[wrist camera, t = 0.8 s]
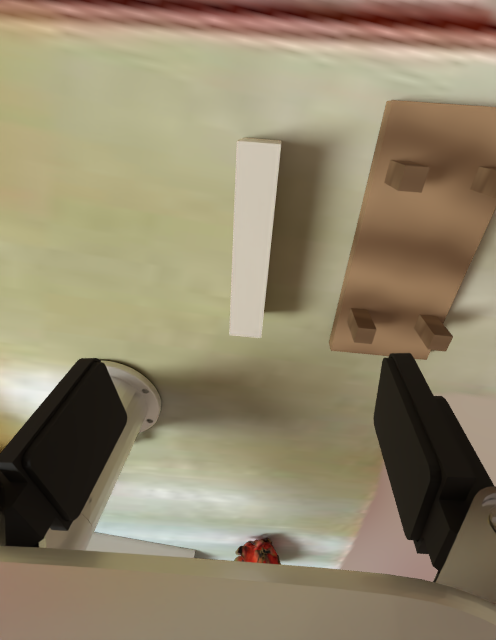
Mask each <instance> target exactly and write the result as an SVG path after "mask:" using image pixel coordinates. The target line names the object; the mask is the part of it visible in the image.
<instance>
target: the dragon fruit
mask: <svg viewBox="0 0 496 640" xmlns="http://www.w3.org/2000/svg"><path fill="white" fill-rule="evenodd" d="M254 543H255V545H253V544H254ZM254 543H253V544H252V543H251V542H247V543H246V544H245V545H244V546H240V547H239V548H238V549H237V551H236V554H237V555H241V556H238V557H237V558H236V559H235V560H234V561H240V562H252V563H265V564H278V565H281V563H280V561H279V556H278V555H277V553H276V551H275V550H274V548H273V546H272V542H271V541H270V539H269V538H267V540H259V541H258V540H255V541H254Z"/></svg>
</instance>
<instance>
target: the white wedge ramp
mask: <svg viewBox="0 0 496 640" xmlns="http://www.w3.org/2000/svg"><path fill="white" fill-rule="evenodd" d="M85 551H100V552H115V553H129V554H143V555H157V556H171V557H185V558H194V555H195V550H193V549H187V548H181V547H176V546H171V545H165V544H159V543H153V542H147V541H142V540H136V539H131V538H125V537H119V536H114V535H108V534H102V533H96V532H94V533H93V535H92V537H91V539H90V542H89V544H88V546H87V548H86V550H85Z"/></svg>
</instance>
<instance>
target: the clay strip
mask: <svg viewBox="0 0 496 640" xmlns="http://www.w3.org/2000/svg"><path fill="white" fill-rule="evenodd" d="M280 152H281V140H269V139H255V138H242V139H240V140H238V141H237V152H236V178H235V203H234V229H233V255H232V281H231V307H230V333H229V335H235V336H245V337H255V338H261V335H262V325H263V316H264V306H265V296H266V287H267V277H268V267H269V258H270V248H271V238H272V229H273V219H274V210H275V200H276V190H277V181H278V171H279V161H280Z"/></svg>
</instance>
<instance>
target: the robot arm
mask: <svg viewBox="0 0 496 640" xmlns="http://www.w3.org/2000/svg"><path fill="white" fill-rule="evenodd" d="M160 412H161V399H160V396H159V393H158V392H157V390H156V388H155V387H154V385H153V384H152V383H151V382H150V381H149V380H148V379H147V378H146V377H144V376H143V375H142V374H141V373H139V372H137V371H136V370H134V369H132V368H130V367H128V366H125V365H123V364H119V363H116V362H111V361H100V360H99V359H97V358H82V359H79V360H78V361H77V362H76V363H75V364H74V366H73V367H72V368H71V369H70V370H69V372H68V373H67V374H66V375H65V376H64V378H63V379H62V380H61V381H60V382H59V384H58V385H57V386H56V387H55V388H54V390H53V391H52V392H51V393H50V394H49V396H48V397H47V398H46V399H45V400H44V402H43V403H42V404H41V405H40V406H39V408H38V409H37V410H36V411H35V412H34V414H33V415H32V416H31V417H30V418H29V420H28V421H27V422H26V423H25V424H24V425H23V427H22V428H21V429H20V430H19V431H18V433H17V434H16V435H15V436H14V437H13V439H12V440H11V441H10V442H9V443H8V445H7V446H6V447H5V448H4V449H3V451H2V452H1V453H0V640H496V487H495V486H494V485H493V483H492V481H491V479H490V477H489V476H488V474H487V472H486V470H485V469H484V467H483V465H482V463H481V462H480V460H479V458H478V456H477V454H476V452H475V451H474V449H473V447H472V445H471V443H470V442H469V440H468V438H467V436H466V434H465V433H464V431H463V429H462V427H461V426H460V424H459V422H458V420H457V418H456V416H455V415H454V413H453V411H452V409H451V408H450V406H449V404H448V402H447V401H446V399H445V398H443V397H442V396H433V394H432V392H431V390H430V388H429V386H428V384H427V382H426V380H425V378H424V377H423V375H422V373H421V371H420V369H419V367H418V365H417V363H416V361H415V359H414V357H413V356H412V354H411V353H391V354H390V355H389V358H384V359H383V361H382V367H381V374H380V380H379V386H378V393H377V399H376V405H375V412H374V426H375V430H376V434H377V437H378V441H379V444H380V448H381V452H382V455H383V459H384V462H385V466H386V469H387V473H388V476H389V480H390V483H391V487H392V490H393V494H394V497H395V501H396V505H397V508H398V512H399V515H400V519H401V522H402V526H403V530H404V533H405V536H406V538H407V539H408V540H413V541H414V544H415V547H416V551H417V553H420V554H429V556H430V559H431V562H432V565H433V567H435V568H436V569H437V570H438V572H437V574H436V576H435V578H434V581H433V582H430V581H425V580H422V579H416V578H409V577H402V576H395V575H389V574H380V573H370V572H359V571H349V570H339V569H328V568H317V567H304V566H291V565H278V564H265V563H252V562H240V561H227V560H213V559H199V558H185V557H171V556H157V555H143V554H129V553H115V552H100V551H85V550H86V548H87V546H88V544H89V542H90V539H91V537H92V535H93V533H94V531H95V528H96V526H97V524H98V522H99V519H100V517H101V515H102V513H103V511H104V508H105V506H106V504H107V502H108V499H109V497H110V495H111V493H112V491H113V488H114V486H115V484H116V482H117V479H118V477H119V475H120V473H121V471H122V468H123V466H124V464H125V462H126V460H127V457H128V456H129V454H130V451H131V448H132V446H133V444H134V442H135V440H136V437H137V435H138V433H140V432H143V431H145V430H147V429H149V428H151V427H152V426H153V425H154V424H155V422H156V421H157V419H158V417H159V415H160Z"/></svg>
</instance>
